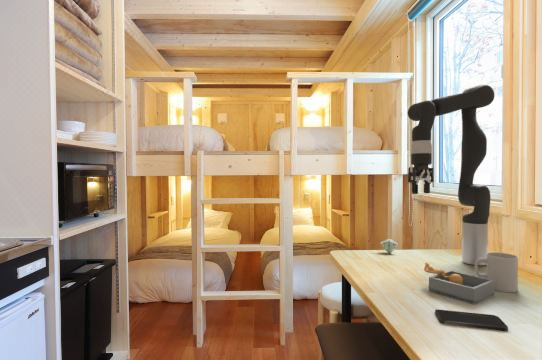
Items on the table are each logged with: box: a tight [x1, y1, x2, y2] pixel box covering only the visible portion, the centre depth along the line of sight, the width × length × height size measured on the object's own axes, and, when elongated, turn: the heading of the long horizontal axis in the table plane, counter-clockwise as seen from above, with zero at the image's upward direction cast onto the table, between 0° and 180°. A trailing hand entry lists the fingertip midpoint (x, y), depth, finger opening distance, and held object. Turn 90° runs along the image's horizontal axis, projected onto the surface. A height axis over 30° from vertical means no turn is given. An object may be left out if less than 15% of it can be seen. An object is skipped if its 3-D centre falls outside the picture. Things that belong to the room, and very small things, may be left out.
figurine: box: [423, 262, 463, 285], centre depth 109 cm, size 8×6×12 cm
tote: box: [428, 269, 495, 305], centre depth 105 cm, size 14×14×4 cm
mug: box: [474, 251, 519, 294], centre depth 110 cm, size 12×8×11 cm
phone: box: [434, 308, 509, 332], centre depth 85 cm, size 8×1×15 cm
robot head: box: [380, 238, 399, 254], centre depth 159 cm, size 8×4×7 cm, turn 66°
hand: (421, 193), depth 131 cm, fingers open, 8 cm apart
